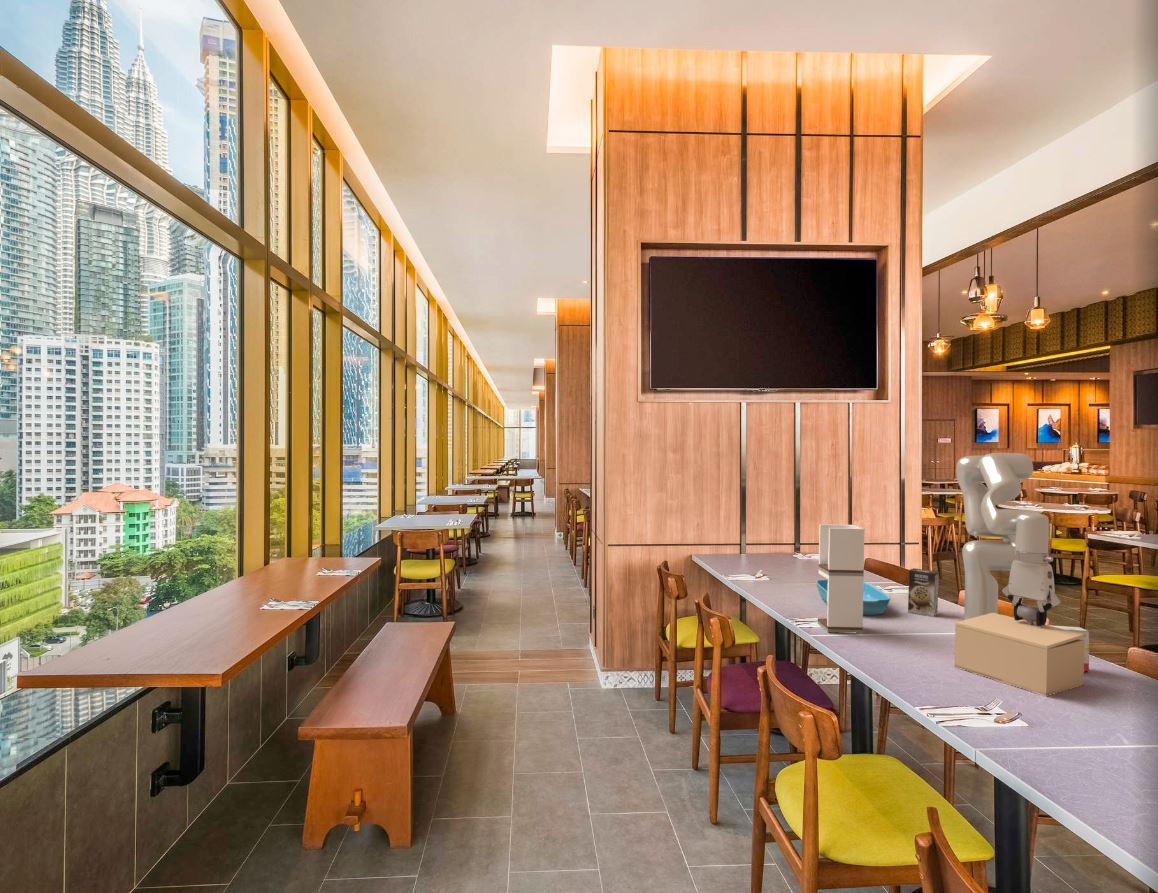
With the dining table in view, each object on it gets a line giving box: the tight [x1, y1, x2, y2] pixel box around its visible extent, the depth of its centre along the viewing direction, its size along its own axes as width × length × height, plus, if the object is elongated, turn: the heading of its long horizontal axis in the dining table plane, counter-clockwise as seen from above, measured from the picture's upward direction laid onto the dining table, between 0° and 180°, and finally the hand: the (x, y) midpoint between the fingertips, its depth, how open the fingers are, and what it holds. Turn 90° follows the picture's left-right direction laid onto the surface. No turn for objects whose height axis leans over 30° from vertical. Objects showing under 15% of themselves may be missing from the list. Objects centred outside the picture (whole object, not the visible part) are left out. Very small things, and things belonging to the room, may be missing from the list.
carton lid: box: [954, 604, 1084, 649], centre depth 184 cm, size 18×24×6 cm
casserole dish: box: [815, 578, 891, 616], centre depth 262 cm, size 37×22×7 cm, turn 175°
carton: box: [954, 625, 1085, 697], centre depth 184 cm, size 18×24×12 cm
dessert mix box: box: [907, 567, 940, 617], centre depth 251 cm, size 9×6×16 cm
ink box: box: [1048, 624, 1090, 673], centre depth 191 cm, size 9×5×12 cm, turn 80°
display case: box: [817, 523, 866, 634], centre depth 228 cm, size 11×11×35 cm
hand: (1029, 621), depth 187 cm, fingers closed on carton lid, 5 cm apart
